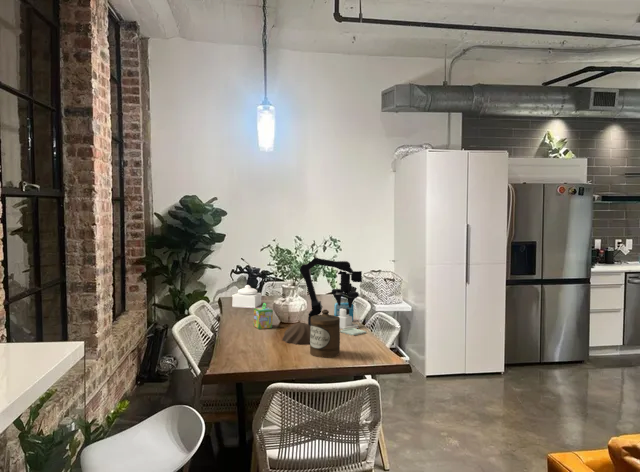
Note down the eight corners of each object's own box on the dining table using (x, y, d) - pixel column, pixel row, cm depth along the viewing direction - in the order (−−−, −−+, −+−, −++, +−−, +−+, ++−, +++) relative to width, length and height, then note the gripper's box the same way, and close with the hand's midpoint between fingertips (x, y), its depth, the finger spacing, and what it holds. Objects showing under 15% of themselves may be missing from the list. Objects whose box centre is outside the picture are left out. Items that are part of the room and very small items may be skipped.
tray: (353, 335, 282) (353, 333, 282) (340, 332, 291) (340, 330, 291) (366, 333, 290) (366, 331, 290) (353, 329, 298) (353, 327, 298)
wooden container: (303, 353, 245) (304, 309, 244) (324, 347, 255) (325, 306, 254) (324, 359, 234) (325, 313, 233) (345, 354, 245) (346, 310, 244)
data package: (335, 322, 319) (335, 303, 319) (333, 320, 324) (334, 302, 323) (353, 321, 321) (353, 303, 321) (351, 320, 326) (352, 302, 325)
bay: (343, 331, 294) (343, 327, 294) (329, 327, 304) (329, 323, 304) (359, 328, 303) (359, 325, 303) (344, 324, 312) (344, 321, 312)
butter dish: (254, 308, 362) (255, 286, 362) (231, 307, 365) (231, 285, 365) (261, 304, 380) (261, 283, 379) (239, 303, 382) (239, 282, 382)
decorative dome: (310, 335, 283) (310, 317, 283) (323, 343, 265) (323, 325, 264) (278, 337, 276) (278, 319, 276) (289, 346, 258) (289, 327, 257)
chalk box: (253, 326, 302) (253, 302, 301) (267, 325, 306) (267, 301, 305) (258, 329, 293) (258, 305, 293) (272, 328, 298) (273, 304, 297)
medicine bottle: (342, 325, 308) (343, 307, 308) (352, 327, 304) (352, 308, 303) (336, 327, 303) (336, 308, 302) (345, 329, 298) (345, 310, 298)
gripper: (365, 282, 301) (364, 307, 302) (343, 279, 315) (343, 303, 316) (352, 283, 294) (351, 309, 294) (331, 280, 308) (330, 305, 308)
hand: (344, 306), depth 303 cm, fingers open, 9 cm apart
